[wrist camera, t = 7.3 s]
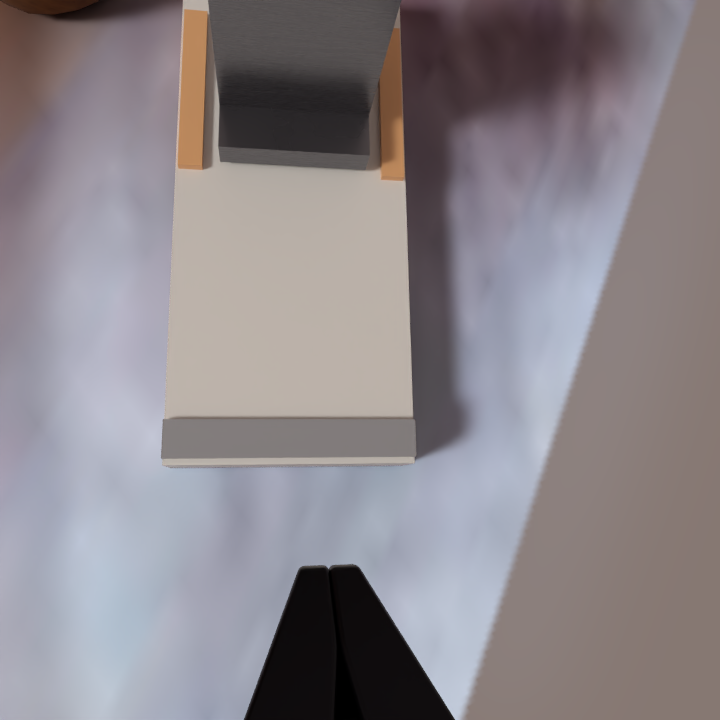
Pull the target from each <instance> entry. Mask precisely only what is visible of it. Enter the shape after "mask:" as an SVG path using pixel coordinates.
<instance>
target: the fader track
mask: <svg viewBox="0 0 720 720" xmlns="http://www.w3.org/2000/svg"><path fill="white" fill-rule="evenodd" d="M218 137H219V96H218V87H217V78H216V69H215V60H214V51H213V42H212V33H211V24H210V14H209V5H208V0H183V15H182V37H181V60H180V82H179V104H178V127H177V149H176V171H175V194H174V216H173V238H172V261H171V283H170V305H169V328H168V350H167V372H166V395H165V417H164V419H163V429H162V451H161V459H163V462H162V465H163V466H166V467H169V468H225V467H325V466H403V465H408V464H412V463H415V460H414V457H416V427H415V419H413V399H412V368H411V337H410V307H409V276H408V245H407V214H406V184H405V153H404V122H403V91H402V61H401V30H400V7H399V11H398V14H397V18H396V21H395V25H394V28H393V32H392V35H391V39H390V43H389V46H388V50H387V53H386V57H385V60H384V64H383V68H382V71H381V75H380V78H379V82H378V85H377V89H376V92H375V96H374V100H373V103H372V107H371V110H370V114H369V138H370V157H369V160H368V163H367V166H366V170H355V169H337V168H320V167H302V166H285V165H267V164H250V163H232V162H220V157H219V149H218Z"/></svg>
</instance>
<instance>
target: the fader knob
mask: <svg viewBox="0 0 720 720" xmlns="http://www.w3.org/2000/svg"><path fill="white" fill-rule="evenodd" d="M400 3H401V0H208V5H209V14H210V24H211V33H212V42H213V51H214V60H215V69H216V78H217V87H218V96H219V137H218V149H219V157H220V162H232V163H250V164H267V165H285V166H302V167H320V168H337V169H355V170H366V166H367V163H368V160H369V157H370V138H369V114H370V110H371V107H372V103H373V100H374V96H375V92H376V89H377V85H378V82H379V78H380V75H381V71H382V68H383V64H384V60H385V57H386V53H387V50H388V46H389V43H390V39H391V35H392V32H393V28H394V25H395V21H396V18H397V14H398V11H399V7H400Z"/></svg>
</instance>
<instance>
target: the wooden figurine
mask: <svg viewBox="0 0 720 720" xmlns="http://www.w3.org/2000/svg"><path fill="white" fill-rule="evenodd" d="M0 1H2V2H4V3H5V4H7V5H9V6H12V7H14V8H17V9H19V10H22V11H24V12H27V13H30V14H58V13H64V12H70V11H75V10H79V9H81V8H84V7H86V6H88V5H91V4H93V3H95V2H97V1H99V0H0Z"/></svg>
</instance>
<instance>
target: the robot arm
mask: <svg viewBox="0 0 720 720" xmlns="http://www.w3.org/2000/svg"><path fill="white" fill-rule="evenodd" d="M244 720H455V719H454V717H453V716H452V714H451V713H450V711H449V709H448V708H447V706H446V705H445V703H444V702H443V700H442V698H441V697H440V695H439V694H438V692H437V690H436V689H435V687H434V686H433V684H432V682H431V681H430V679H429V678H428V676H427V674H426V673H425V671H424V670H423V668H422V666H421V665H420V663H419V662H418V660H417V658H416V657H415V655H414V654H413V652H412V650H411V649H410V647H409V646H408V644H407V643H406V641H405V639H404V638H403V636H402V635H401V633H400V631H399V630H398V628H397V627H396V625H395V623H394V622H393V620H392V619H391V617H390V615H389V614H388V612H387V611H386V609H385V607H384V606H383V604H382V603H381V601H380V599H379V598H378V596H377V595H376V593H375V591H374V590H373V588H372V587H371V585H370V584H369V582H368V580H367V579H366V577H365V576H364V574H363V572H362V571H361V569H360V568H359V567H358V566H356V565H353V564H349V565H332V566H331V567H330V568H329V570H328V568H327V567H326V566H323V565H318V566H302V567H300V569H299V570H298V572H297V575H296V578H295V580H294V583H293V586H292V589H291V591H290V594H289V597H288V600H287V602H286V605H285V608H284V611H283V613H282V616H281V619H280V622H279V624H278V627H277V630H276V633H275V635H274V638H273V641H272V644H271V647H270V649H269V652H268V655H267V658H266V660H265V663H264V666H263V669H262V671H261V674H260V677H259V680H258V682H257V685H256V688H255V691H254V693H253V696H252V699H251V702H250V704H249V707H248V710H247V713H246V715H245V718H244Z"/></svg>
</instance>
